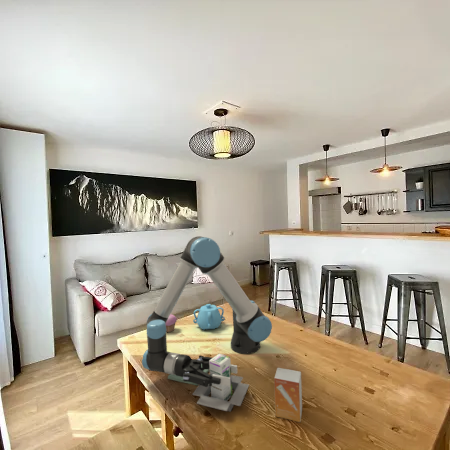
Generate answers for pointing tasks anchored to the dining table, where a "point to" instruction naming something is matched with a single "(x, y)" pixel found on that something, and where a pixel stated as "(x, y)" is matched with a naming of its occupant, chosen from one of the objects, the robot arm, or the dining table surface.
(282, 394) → the small box
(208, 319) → the decorative pot
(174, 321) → the cupcake
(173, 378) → the mat
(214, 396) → the syrup box
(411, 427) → the dining table surface
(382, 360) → the dining table surface
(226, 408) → the grey open box frame
